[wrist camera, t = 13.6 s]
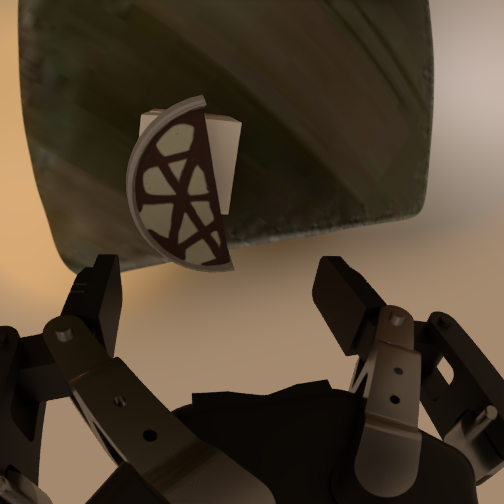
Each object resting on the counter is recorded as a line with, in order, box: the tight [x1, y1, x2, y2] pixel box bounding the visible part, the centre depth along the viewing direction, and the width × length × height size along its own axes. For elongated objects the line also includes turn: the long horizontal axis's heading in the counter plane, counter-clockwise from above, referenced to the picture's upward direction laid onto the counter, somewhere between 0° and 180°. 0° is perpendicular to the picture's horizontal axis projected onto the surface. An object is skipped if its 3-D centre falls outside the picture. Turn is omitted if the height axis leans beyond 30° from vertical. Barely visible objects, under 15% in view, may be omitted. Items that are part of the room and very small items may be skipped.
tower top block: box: [139, 112, 242, 214], centre depth 30 cm, size 9×9×5 cm
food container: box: [126, 95, 234, 272], centre depth 23 cm, size 12×6×10 cm, turn 7°
